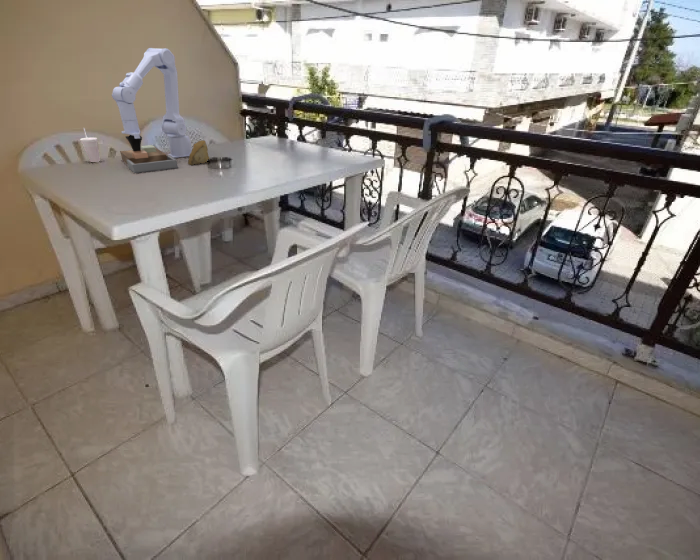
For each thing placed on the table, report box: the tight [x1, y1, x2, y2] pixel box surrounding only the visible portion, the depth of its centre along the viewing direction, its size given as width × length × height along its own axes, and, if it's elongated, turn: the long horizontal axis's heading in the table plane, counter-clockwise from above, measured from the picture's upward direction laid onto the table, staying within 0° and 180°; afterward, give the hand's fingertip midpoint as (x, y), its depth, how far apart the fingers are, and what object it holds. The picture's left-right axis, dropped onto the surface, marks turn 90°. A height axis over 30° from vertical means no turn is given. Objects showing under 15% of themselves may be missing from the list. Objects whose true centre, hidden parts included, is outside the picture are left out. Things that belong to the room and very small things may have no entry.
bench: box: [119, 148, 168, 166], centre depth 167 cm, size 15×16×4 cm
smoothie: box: [79, 127, 101, 163], centre depth 162 cm, size 6×6×14 cm
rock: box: [187, 140, 210, 166], centre depth 169 cm, size 11×9×10 cm
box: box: [126, 155, 179, 174], centre depth 159 cm, size 17×10×4 cm, turn 129°
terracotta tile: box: [131, 150, 148, 159], centre depth 159 cm, size 5×5×2 cm
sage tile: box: [141, 144, 157, 153], centre depth 169 cm, size 5×5×2 cm
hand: (137, 153), depth 161 cm, fingers closed
